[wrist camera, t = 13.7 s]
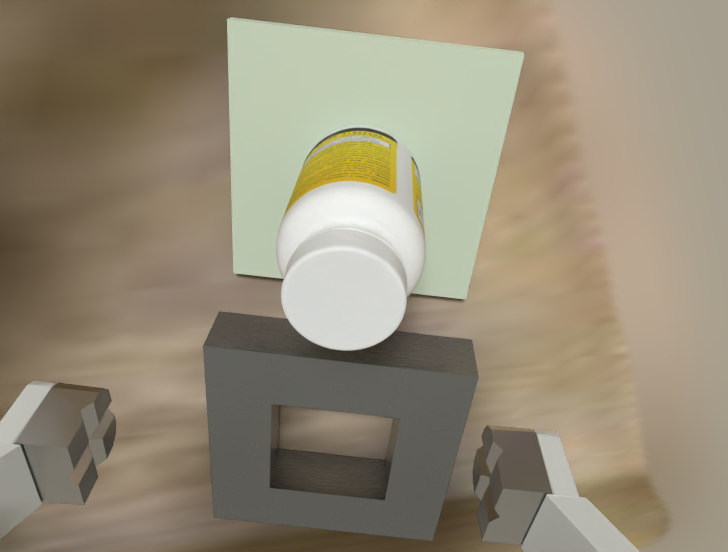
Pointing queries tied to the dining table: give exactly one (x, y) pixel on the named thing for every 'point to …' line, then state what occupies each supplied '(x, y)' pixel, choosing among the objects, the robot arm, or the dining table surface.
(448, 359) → the frame
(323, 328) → the supplement bottle
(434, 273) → the mat
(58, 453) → the robot arm
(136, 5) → the dining table surface
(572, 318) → the dining table surface
